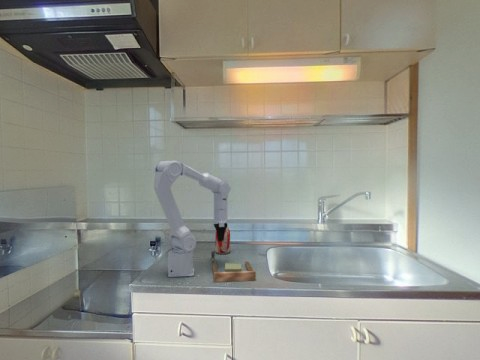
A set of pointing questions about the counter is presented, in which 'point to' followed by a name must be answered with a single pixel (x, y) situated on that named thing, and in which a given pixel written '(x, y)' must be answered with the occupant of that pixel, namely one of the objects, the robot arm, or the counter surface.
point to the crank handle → (213, 256)
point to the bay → (234, 274)
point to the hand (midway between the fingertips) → (220, 240)
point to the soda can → (223, 243)
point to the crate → (232, 267)
